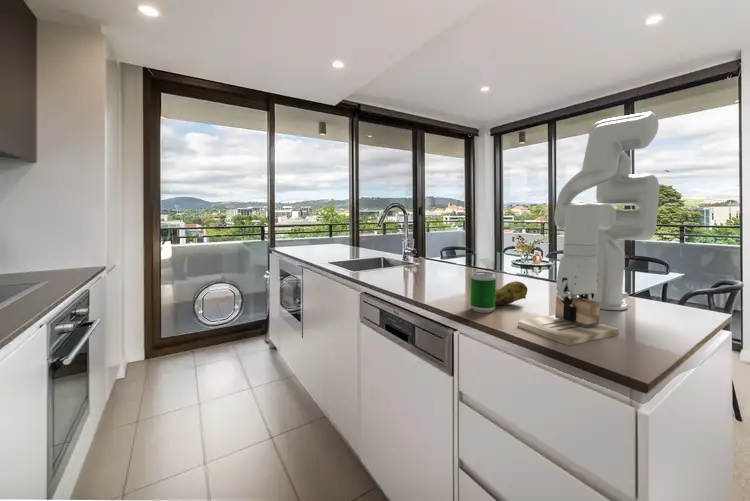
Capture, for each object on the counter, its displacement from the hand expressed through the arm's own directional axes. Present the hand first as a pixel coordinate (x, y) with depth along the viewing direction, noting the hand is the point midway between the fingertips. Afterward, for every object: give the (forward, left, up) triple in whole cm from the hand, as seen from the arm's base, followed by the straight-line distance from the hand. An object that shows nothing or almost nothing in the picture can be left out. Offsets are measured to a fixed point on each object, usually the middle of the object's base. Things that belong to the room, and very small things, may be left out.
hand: (576, 318), depth 89 cm
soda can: (+11, -24, -3) cm, 26 cm away
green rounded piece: (-1, -26, -3) cm, 26 cm away
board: (+4, 0, -3) cm, 4 cm away
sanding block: (0, 0, -1) cm, 1 cm away
